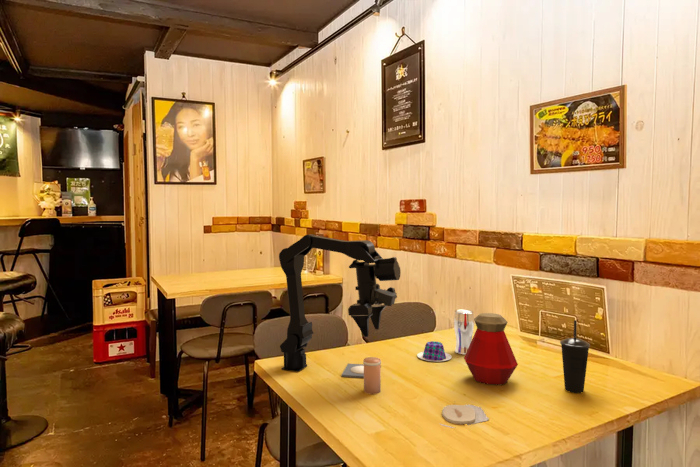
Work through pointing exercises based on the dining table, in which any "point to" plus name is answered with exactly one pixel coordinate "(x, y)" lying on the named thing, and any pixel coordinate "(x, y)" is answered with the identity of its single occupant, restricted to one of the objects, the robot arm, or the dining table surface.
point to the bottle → (490, 351)
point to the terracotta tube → (372, 375)
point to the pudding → (434, 352)
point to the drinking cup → (574, 362)
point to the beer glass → (463, 330)
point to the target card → (354, 371)
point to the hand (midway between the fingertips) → (371, 332)
